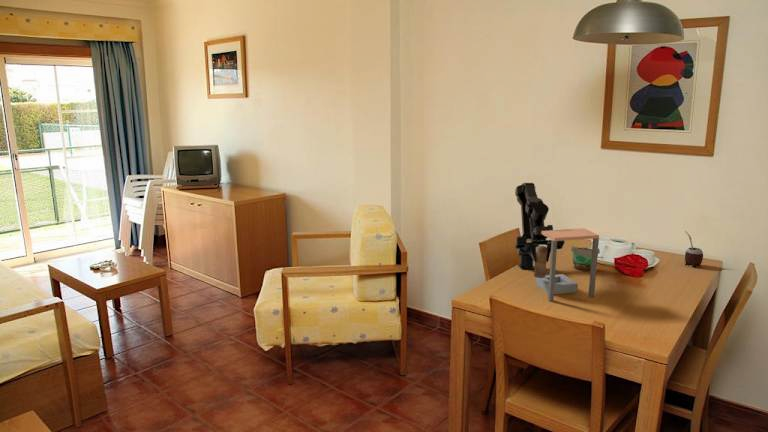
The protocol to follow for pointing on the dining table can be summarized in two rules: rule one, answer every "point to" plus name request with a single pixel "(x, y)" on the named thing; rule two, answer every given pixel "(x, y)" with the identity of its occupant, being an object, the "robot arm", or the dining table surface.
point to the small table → (560, 281)
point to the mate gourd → (693, 255)
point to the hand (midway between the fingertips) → (541, 261)
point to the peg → (540, 262)
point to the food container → (582, 258)
